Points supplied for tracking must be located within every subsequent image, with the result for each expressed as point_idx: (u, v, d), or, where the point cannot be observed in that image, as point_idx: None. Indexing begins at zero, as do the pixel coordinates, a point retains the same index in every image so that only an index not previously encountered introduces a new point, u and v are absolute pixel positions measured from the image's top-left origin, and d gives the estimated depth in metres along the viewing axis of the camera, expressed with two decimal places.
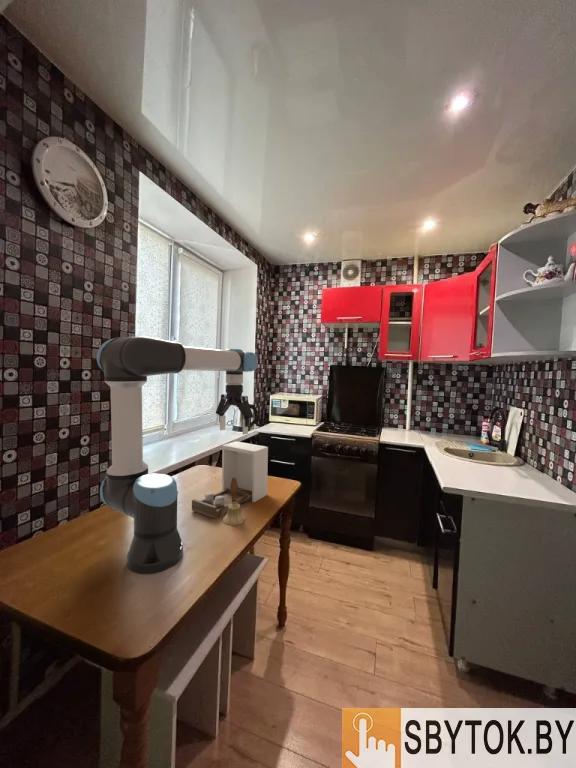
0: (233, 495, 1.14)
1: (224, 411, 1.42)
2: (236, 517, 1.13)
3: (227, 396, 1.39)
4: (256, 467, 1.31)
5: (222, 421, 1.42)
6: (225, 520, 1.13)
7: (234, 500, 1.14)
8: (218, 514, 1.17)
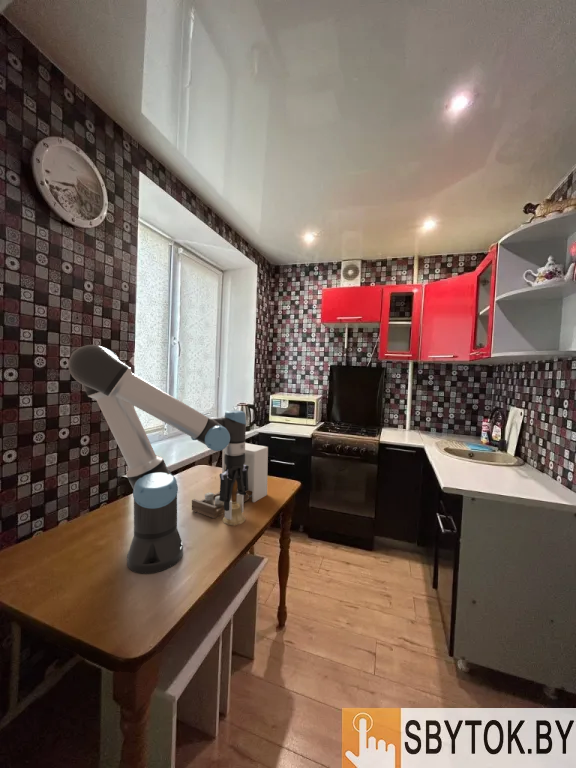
0: (233, 495, 1.14)
1: (239, 487, 1.18)
2: (236, 517, 1.13)
3: None
4: (256, 467, 1.31)
5: (238, 501, 1.18)
6: (225, 520, 1.13)
7: (234, 500, 1.14)
8: (218, 514, 1.17)
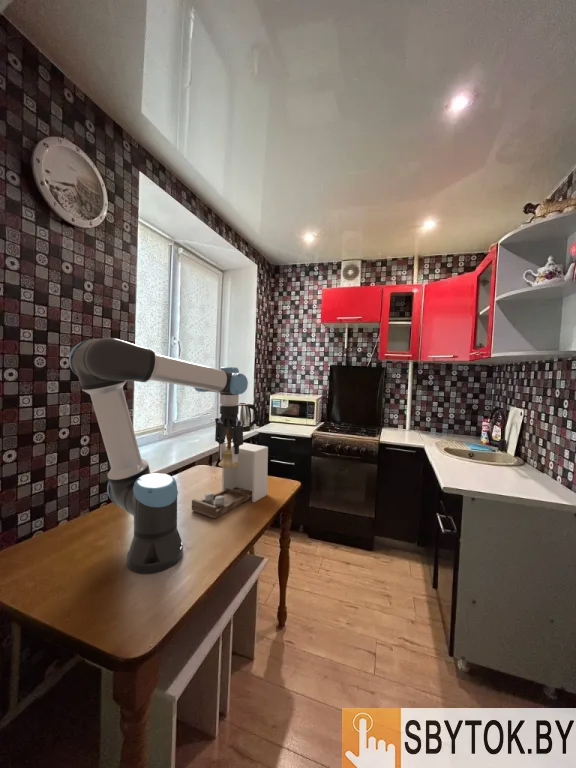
0: (230, 442, 1.29)
1: (223, 437, 1.30)
2: None
3: (221, 417, 1.29)
4: (256, 467, 1.31)
5: (222, 450, 1.30)
6: (233, 464, 1.27)
7: None
8: (218, 514, 1.17)
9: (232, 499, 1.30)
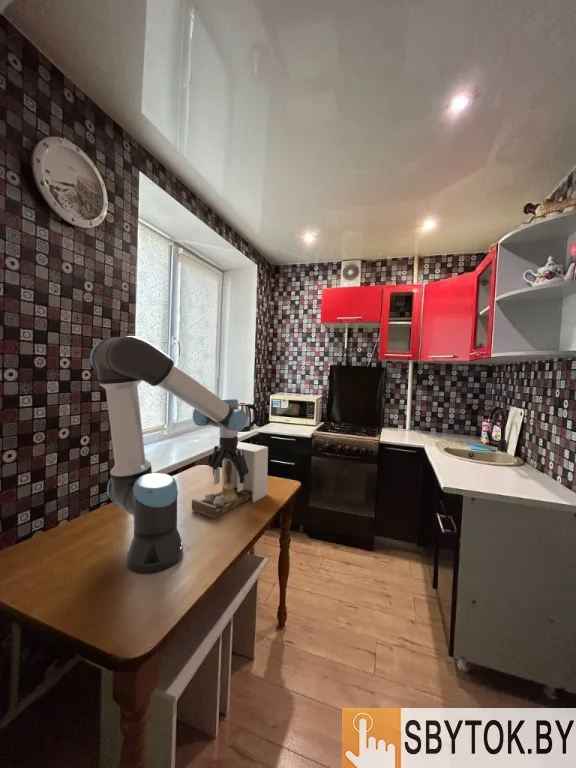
0: None
1: (218, 464, 1.32)
2: None
3: (221, 448, 1.30)
4: (256, 467, 1.31)
5: (216, 475, 1.32)
6: (232, 499, 1.27)
7: None
8: (218, 514, 1.17)
9: None
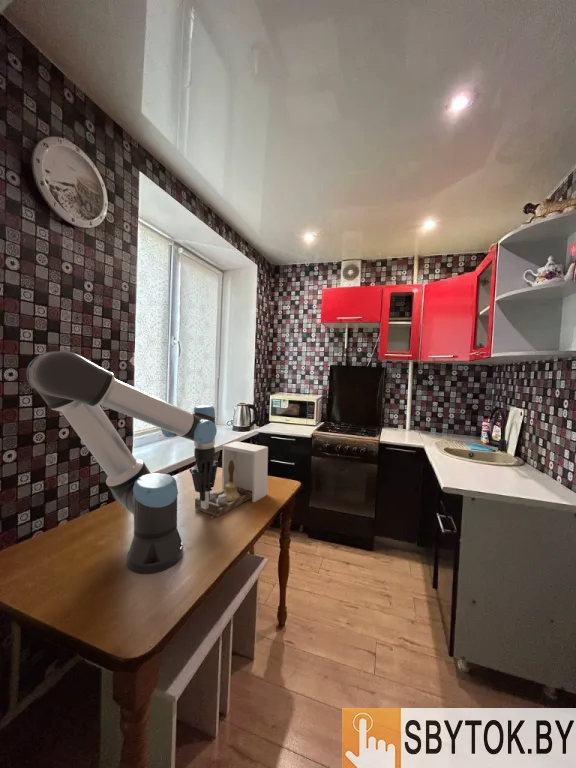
0: (232, 475, 1.31)
1: (206, 482, 1.19)
2: (236, 491, 1.33)
3: None
4: (256, 467, 1.31)
5: None
6: (235, 498, 1.29)
7: (232, 479, 1.31)
8: (221, 512, 1.18)
9: None
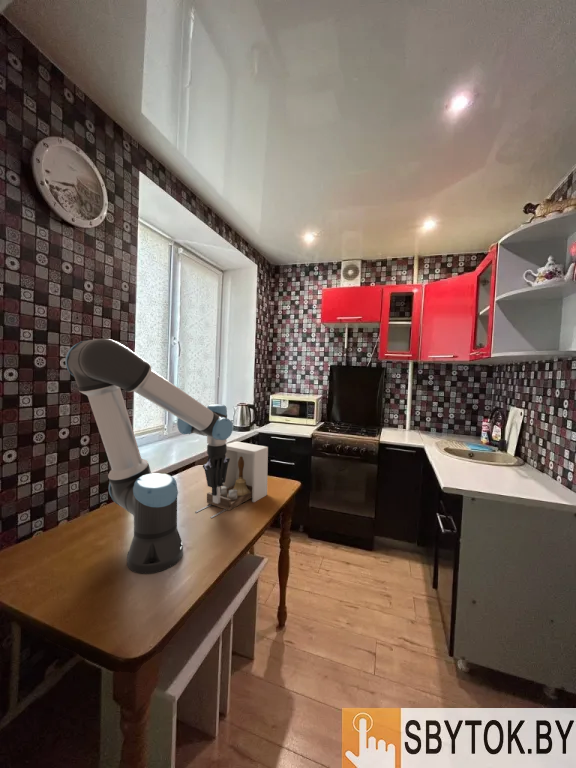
0: (242, 471, 1.36)
1: None
2: None
3: None
4: (256, 467, 1.31)
5: None
6: (245, 493, 1.34)
7: (242, 475, 1.37)
8: (232, 506, 1.24)
9: None
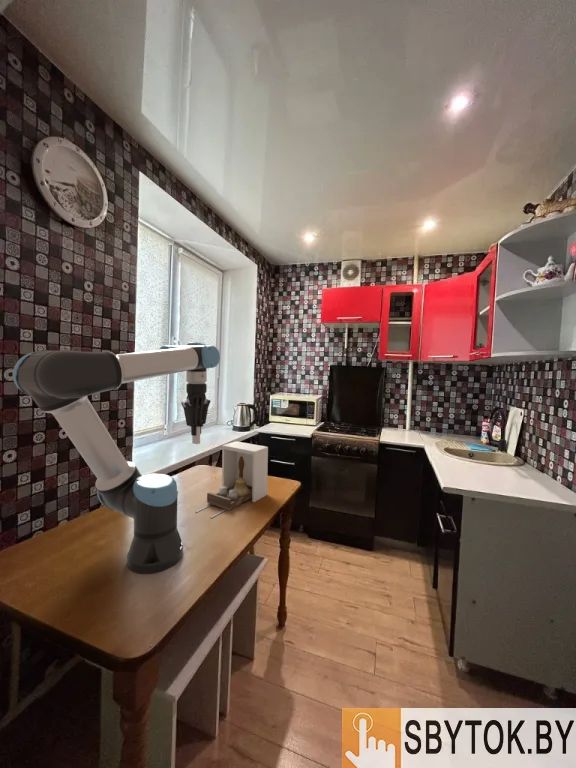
0: (242, 471, 1.36)
1: (197, 418, 1.22)
2: None
3: None
4: (256, 467, 1.31)
5: None
6: (245, 493, 1.34)
7: (242, 475, 1.37)
8: (232, 506, 1.24)
9: None
